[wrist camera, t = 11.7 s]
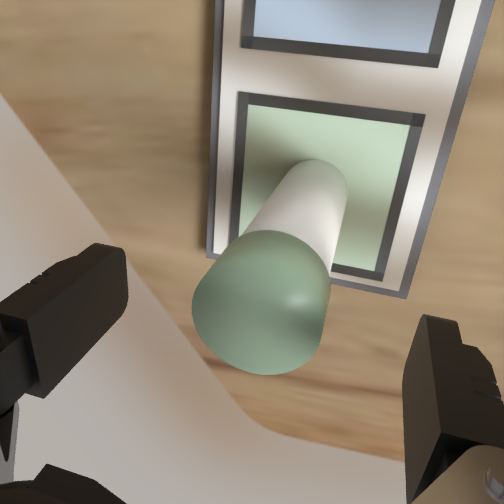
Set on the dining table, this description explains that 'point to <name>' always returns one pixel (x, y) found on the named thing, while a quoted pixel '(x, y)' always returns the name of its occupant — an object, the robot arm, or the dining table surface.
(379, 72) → the picture board
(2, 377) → the robot arm
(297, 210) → the marker
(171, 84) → the dining table surface
